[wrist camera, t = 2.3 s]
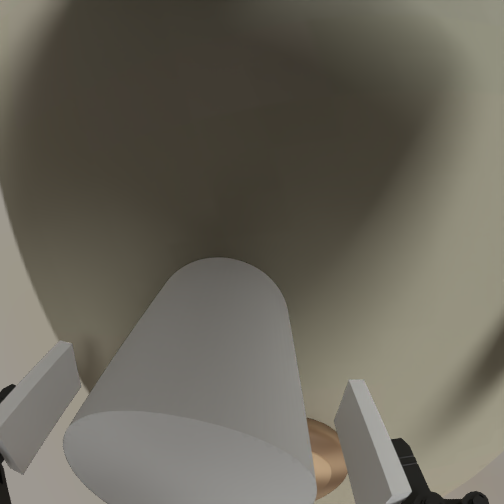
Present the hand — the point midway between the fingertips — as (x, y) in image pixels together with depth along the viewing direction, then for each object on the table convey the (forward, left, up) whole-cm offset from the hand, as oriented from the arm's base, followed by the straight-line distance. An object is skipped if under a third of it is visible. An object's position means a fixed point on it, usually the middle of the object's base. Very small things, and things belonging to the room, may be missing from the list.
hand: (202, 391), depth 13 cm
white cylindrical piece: (0, 0, -6) cm, 6 cm away
